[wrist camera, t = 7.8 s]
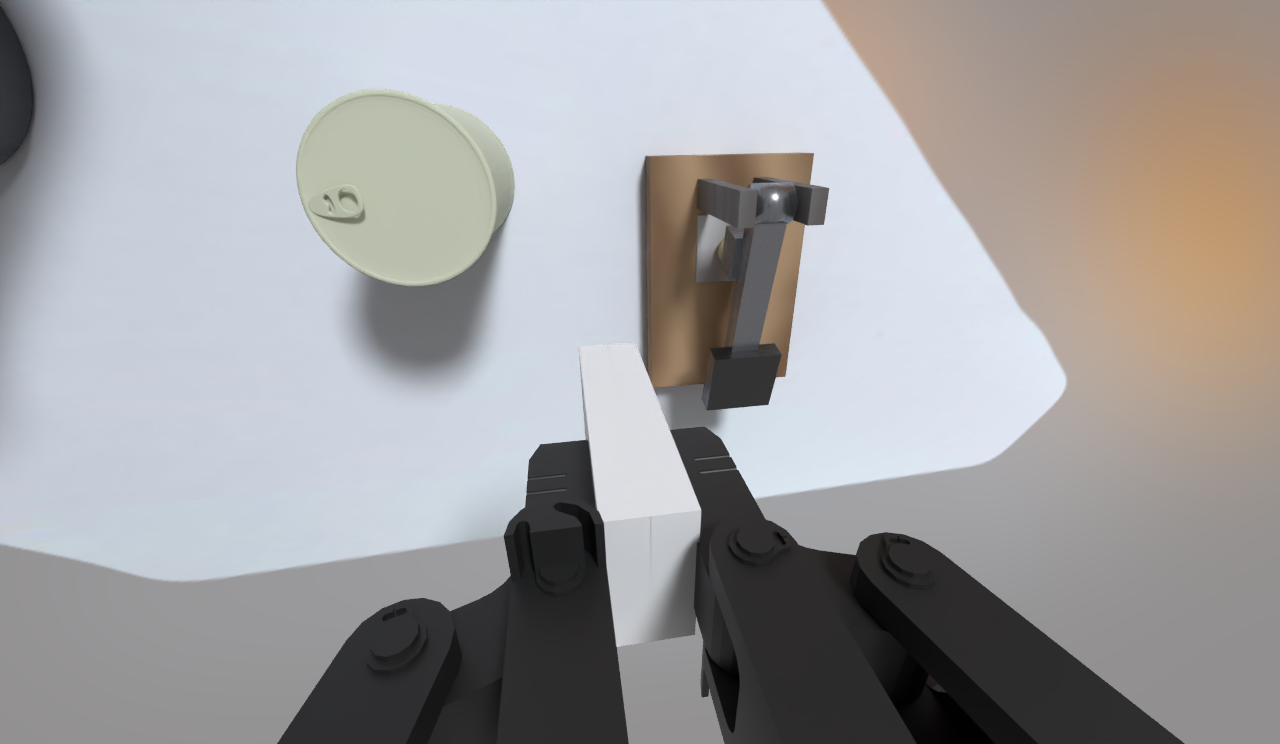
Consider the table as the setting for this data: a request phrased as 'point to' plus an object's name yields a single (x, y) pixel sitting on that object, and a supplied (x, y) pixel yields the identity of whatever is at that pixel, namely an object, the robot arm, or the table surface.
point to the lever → (750, 304)
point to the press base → (714, 254)
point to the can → (403, 185)
